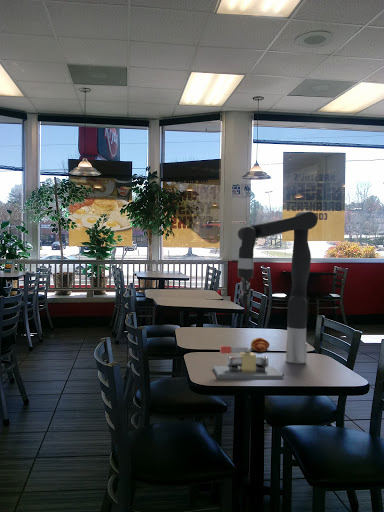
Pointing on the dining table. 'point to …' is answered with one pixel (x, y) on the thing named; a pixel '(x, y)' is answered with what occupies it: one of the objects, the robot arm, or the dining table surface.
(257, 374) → the slate board
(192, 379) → the dining table surface
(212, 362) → the dining table surface
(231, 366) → the valve pipe
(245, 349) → the lever
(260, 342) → the croissant
